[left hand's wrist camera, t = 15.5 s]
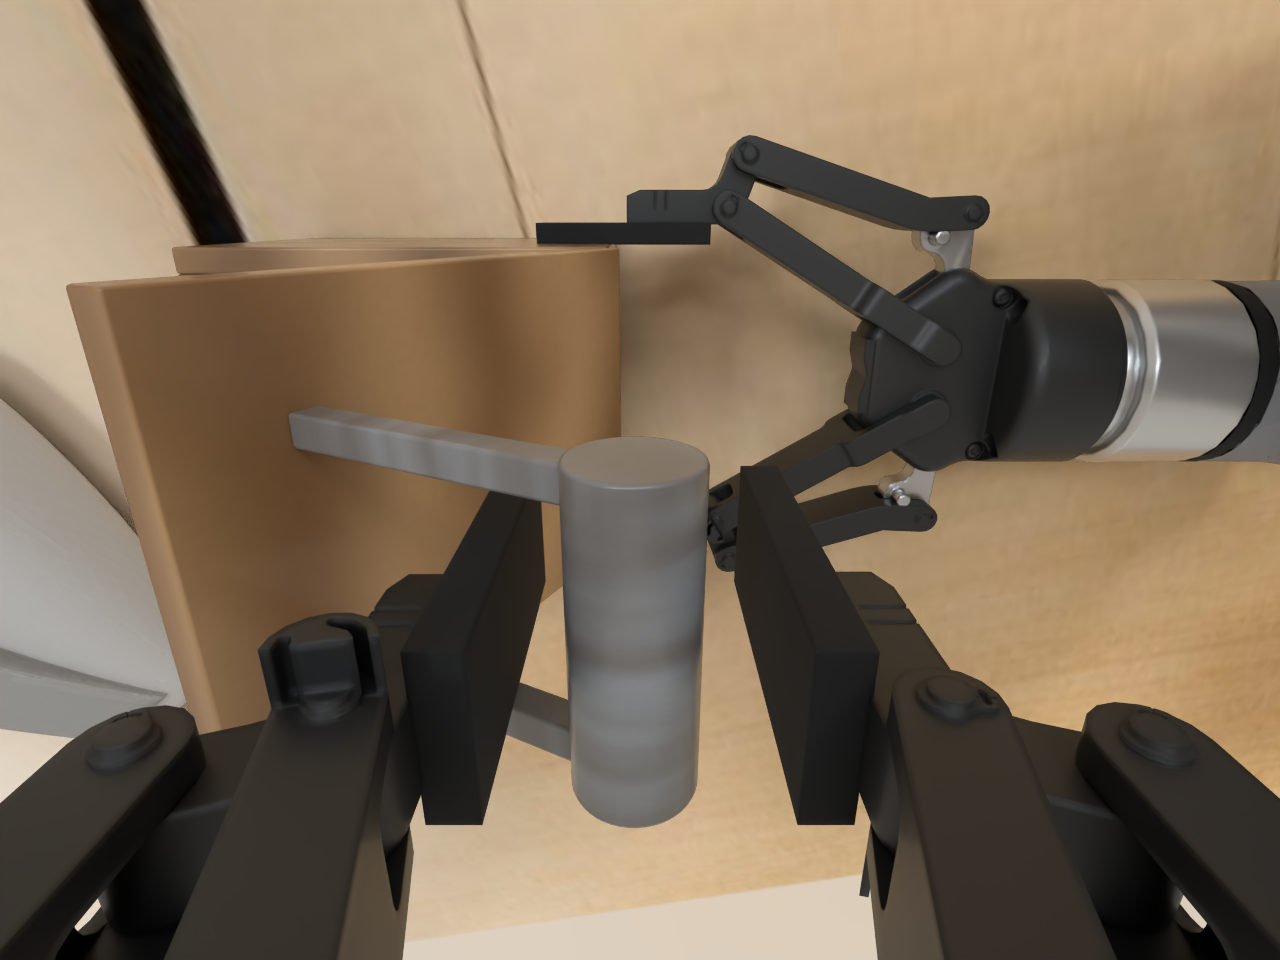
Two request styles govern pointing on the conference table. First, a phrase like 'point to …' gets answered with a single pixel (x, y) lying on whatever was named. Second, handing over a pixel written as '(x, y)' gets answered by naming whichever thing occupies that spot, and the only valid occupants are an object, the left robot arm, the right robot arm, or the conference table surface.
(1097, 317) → the right robot arm
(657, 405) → the conference table surface
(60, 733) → the projector
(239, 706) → the lid
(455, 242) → the chest
